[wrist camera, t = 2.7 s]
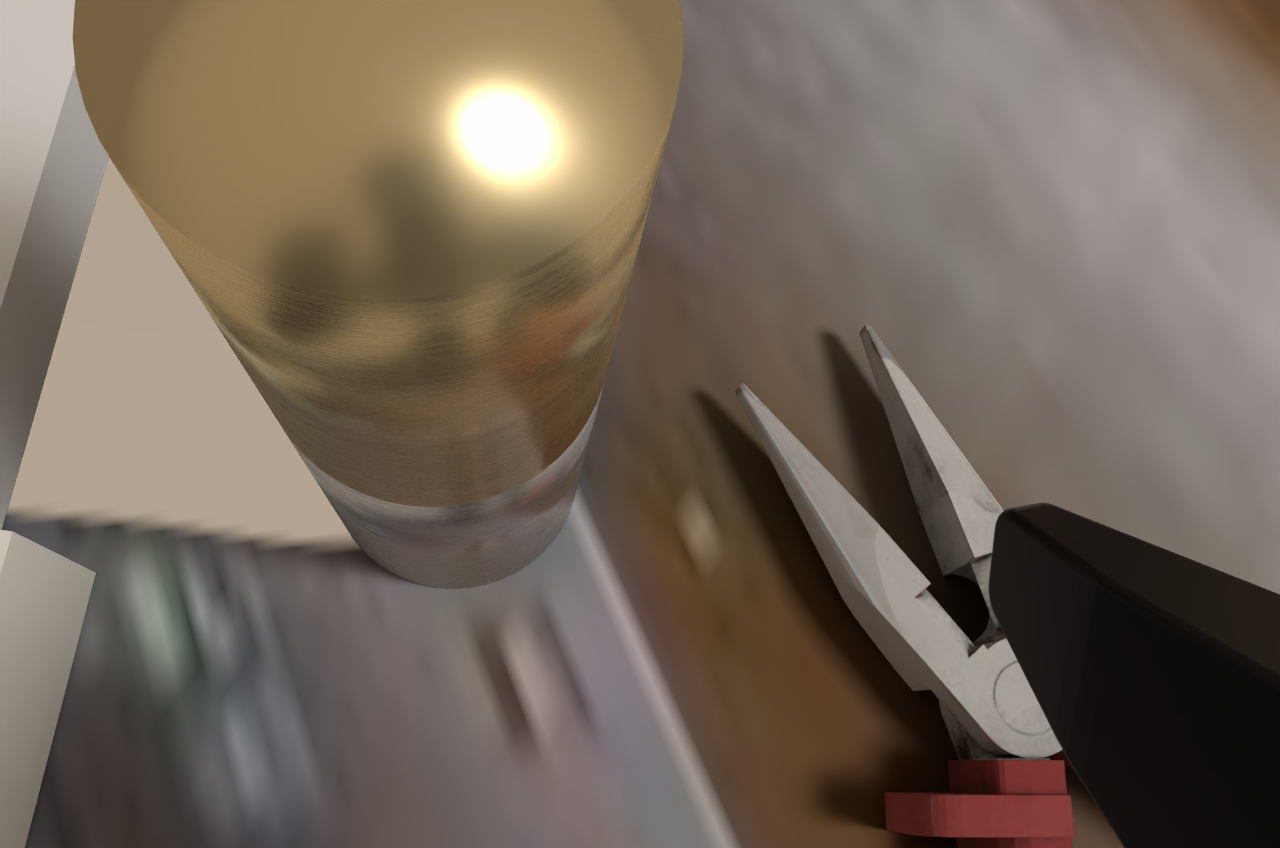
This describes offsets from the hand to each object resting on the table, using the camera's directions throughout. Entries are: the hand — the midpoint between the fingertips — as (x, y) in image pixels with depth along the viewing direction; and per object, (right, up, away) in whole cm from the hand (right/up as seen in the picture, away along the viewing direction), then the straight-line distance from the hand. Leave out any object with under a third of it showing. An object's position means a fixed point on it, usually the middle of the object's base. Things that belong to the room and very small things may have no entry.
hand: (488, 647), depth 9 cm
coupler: (-2, +1, +11) cm, 12 cm away
